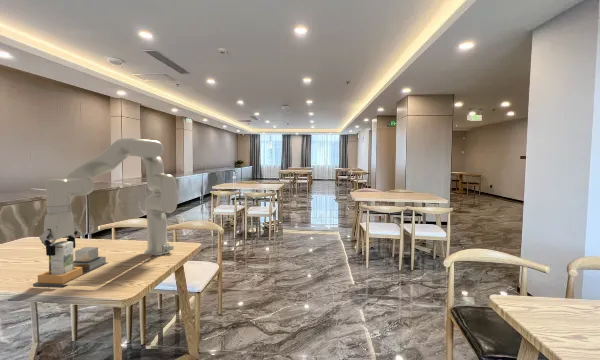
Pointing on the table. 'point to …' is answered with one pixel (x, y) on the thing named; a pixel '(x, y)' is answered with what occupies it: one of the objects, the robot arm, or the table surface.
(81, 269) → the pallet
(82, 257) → the block
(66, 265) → the syrup box
